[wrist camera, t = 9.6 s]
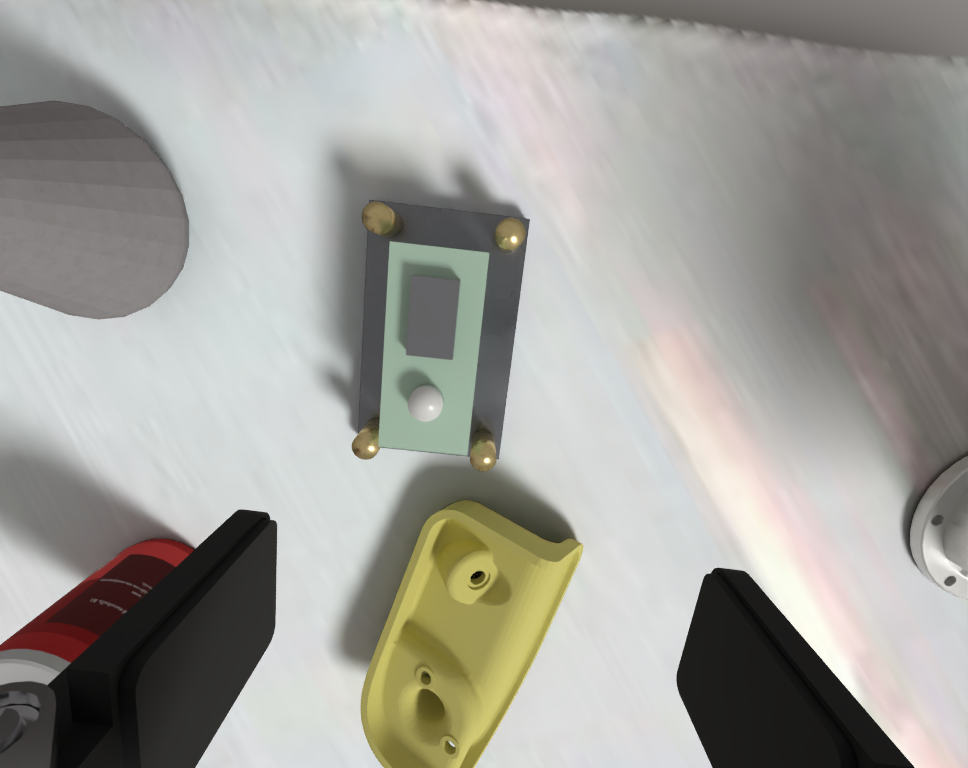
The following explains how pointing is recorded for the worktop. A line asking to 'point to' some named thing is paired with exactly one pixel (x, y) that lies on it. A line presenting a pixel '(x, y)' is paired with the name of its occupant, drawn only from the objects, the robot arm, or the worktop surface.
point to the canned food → (87, 612)
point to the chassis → (498, 320)
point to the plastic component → (461, 636)
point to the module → (431, 347)
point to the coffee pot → (85, 212)
